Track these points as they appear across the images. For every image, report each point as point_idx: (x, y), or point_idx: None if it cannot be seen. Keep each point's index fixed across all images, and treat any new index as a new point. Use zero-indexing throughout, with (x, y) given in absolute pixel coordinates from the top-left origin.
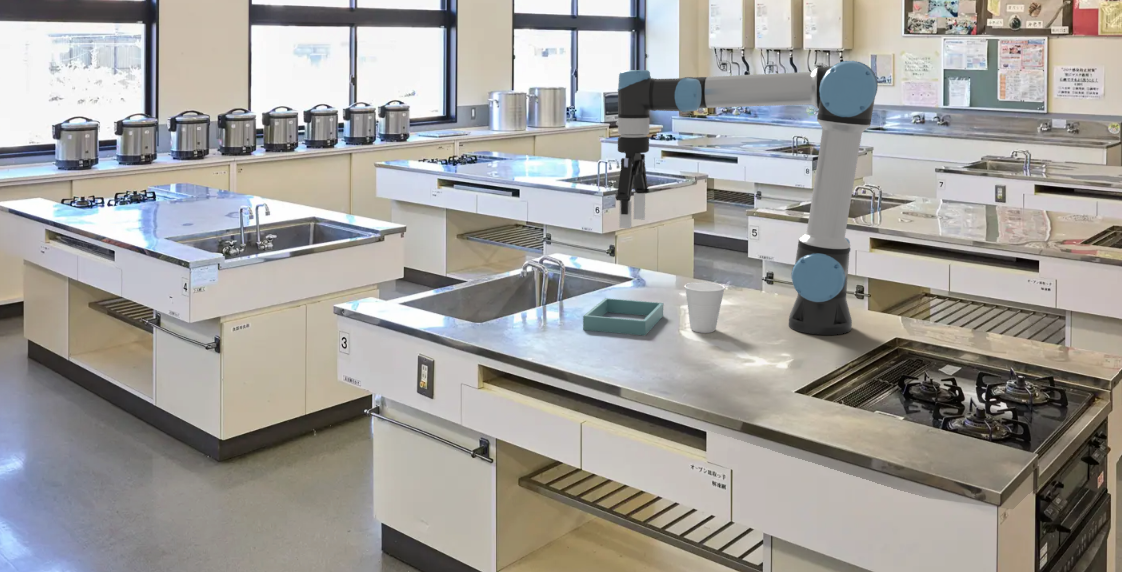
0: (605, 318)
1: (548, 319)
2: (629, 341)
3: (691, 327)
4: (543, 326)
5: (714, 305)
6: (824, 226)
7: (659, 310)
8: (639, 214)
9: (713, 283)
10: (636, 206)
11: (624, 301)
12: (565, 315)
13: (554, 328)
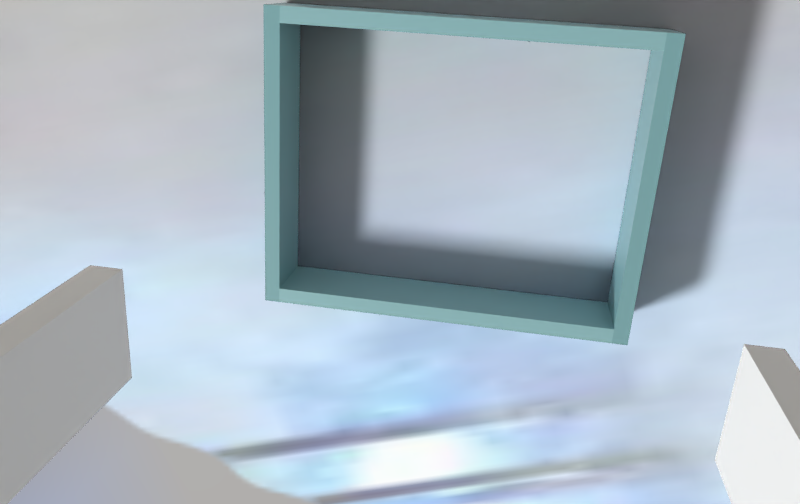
0: (646, 242)
1: (484, 465)
2: (791, 86)
3: None
4: (597, 467)
5: None
6: None
7: (359, 10)
8: (95, 345)
9: None
10: (42, 432)
11: (281, 206)
12: (404, 415)
13: (619, 425)
